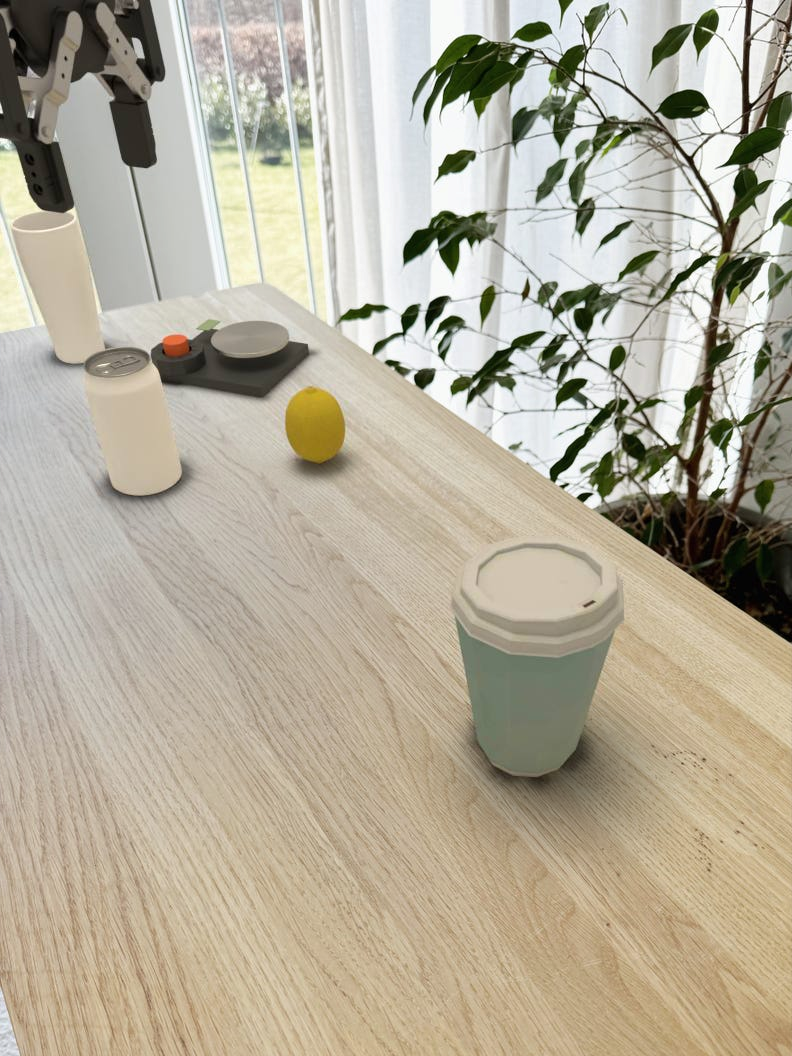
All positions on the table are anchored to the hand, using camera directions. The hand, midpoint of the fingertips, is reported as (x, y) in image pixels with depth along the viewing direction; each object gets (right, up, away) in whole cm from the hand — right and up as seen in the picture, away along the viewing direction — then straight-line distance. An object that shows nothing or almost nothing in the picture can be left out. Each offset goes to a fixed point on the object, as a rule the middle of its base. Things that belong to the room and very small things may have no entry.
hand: (100, 186), depth 61 cm
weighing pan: (-3, +5, +49) cm, 49 cm away
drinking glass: (-22, +5, +53) cm, 57 cm away
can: (-8, -13, +33) cm, 36 cm away
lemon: (+8, -11, +35) cm, 38 cm away
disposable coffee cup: (+27, -35, +8) cm, 45 cm away
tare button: (-10, +3, +47) cm, 48 cm away
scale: (-4, +3, +50) cm, 51 cm away
